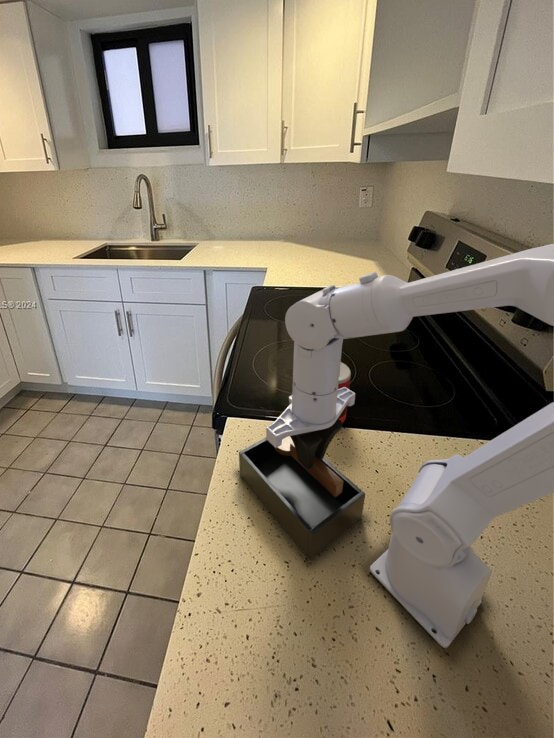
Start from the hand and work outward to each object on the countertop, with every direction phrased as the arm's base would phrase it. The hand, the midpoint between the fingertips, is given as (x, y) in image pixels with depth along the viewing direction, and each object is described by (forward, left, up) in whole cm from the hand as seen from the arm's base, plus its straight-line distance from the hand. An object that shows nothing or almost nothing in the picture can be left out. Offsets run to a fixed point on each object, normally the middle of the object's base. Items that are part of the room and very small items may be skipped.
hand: (309, 460), depth 51 cm
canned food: (+11, -16, -8) cm, 21 cm away
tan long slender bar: (+1, 0, -1) cm, 2 cm away
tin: (+1, +1, -8) cm, 8 cm away
